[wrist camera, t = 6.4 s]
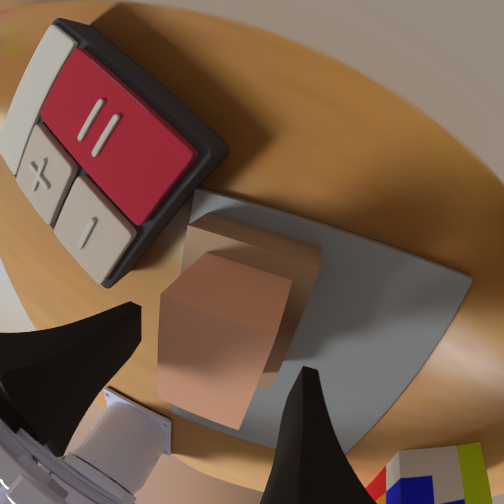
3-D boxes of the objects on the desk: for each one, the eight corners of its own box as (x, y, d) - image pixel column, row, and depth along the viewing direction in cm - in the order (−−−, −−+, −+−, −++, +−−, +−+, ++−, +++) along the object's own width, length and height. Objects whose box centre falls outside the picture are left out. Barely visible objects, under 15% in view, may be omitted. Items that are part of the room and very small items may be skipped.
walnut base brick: (278, 361, 17) (270, 389, 15) (190, 329, 18) (173, 353, 16) (321, 246, 14) (320, 266, 12) (208, 212, 15) (187, 225, 13)
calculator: (100, 298, 16) (-11, 150, 14) (136, 267, 20) (28, 141, 17) (210, 154, 11) (47, 13, 9) (237, 148, 15) (89, 24, 13)
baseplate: (336, 458, 21) (336, 462, 21) (173, 408, 23) (170, 412, 23) (469, 275, 13) (473, 279, 12) (198, 187, 15) (194, 188, 15)
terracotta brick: (259, 373, 15) (238, 430, 11) (190, 347, 15) (157, 397, 12) (292, 280, 12) (275, 336, 9) (205, 252, 13) (160, 294, 9)
